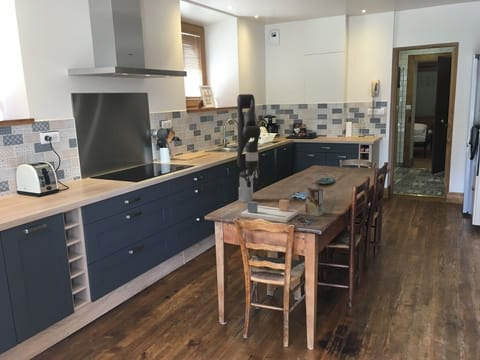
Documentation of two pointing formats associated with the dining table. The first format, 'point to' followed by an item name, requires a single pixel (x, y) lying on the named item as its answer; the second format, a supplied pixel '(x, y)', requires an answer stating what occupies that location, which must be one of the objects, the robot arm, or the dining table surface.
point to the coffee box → (314, 201)
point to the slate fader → (252, 207)
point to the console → (271, 214)
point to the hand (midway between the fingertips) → (252, 185)
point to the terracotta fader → (284, 205)
